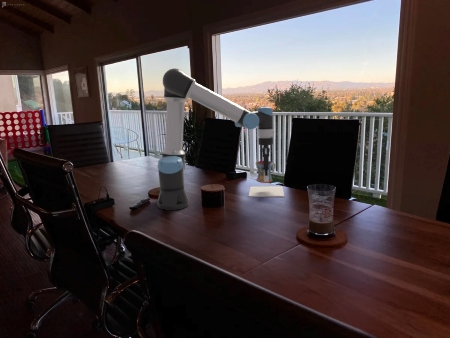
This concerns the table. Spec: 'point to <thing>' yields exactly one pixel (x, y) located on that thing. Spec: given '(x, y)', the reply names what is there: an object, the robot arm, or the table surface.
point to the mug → (261, 172)
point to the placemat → (266, 191)
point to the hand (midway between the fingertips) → (266, 179)
